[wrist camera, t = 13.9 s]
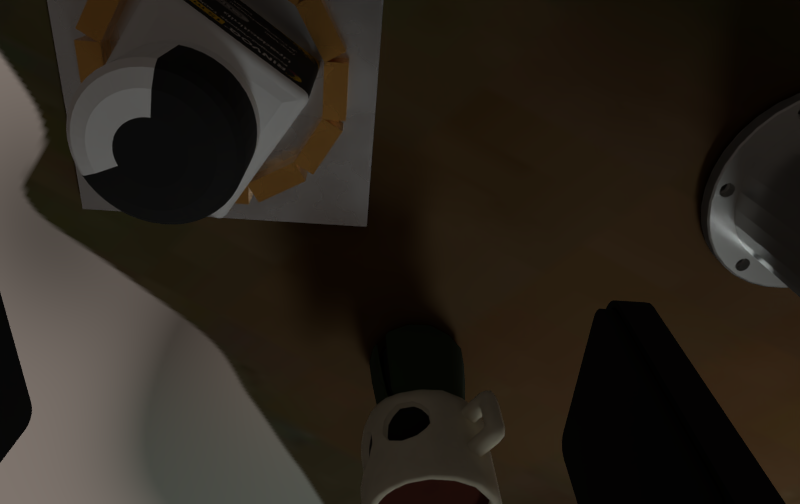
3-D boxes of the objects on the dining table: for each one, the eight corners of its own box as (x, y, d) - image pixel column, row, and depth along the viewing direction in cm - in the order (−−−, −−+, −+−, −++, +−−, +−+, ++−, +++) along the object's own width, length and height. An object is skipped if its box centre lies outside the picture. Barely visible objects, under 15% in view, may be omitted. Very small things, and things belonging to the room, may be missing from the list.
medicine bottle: (323, 62, 31) (298, 135, 20) (248, 167, 33) (192, 280, 23) (198, -34, 28) (97, -8, 18) (128, 86, 31) (3, 171, 20)
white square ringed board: (389, -85, 28) (390, -86, 27) (366, 220, 36) (366, 236, 34) (34, -123, 27) (11, -126, 25) (88, 202, 35) (73, 217, 33)
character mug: (430, 275, 38) (455, 425, 27) (509, 332, 41) (563, 493, 29) (325, 380, 42) (308, 552, 30) (403, 427, 44) (414, 602, 33)
